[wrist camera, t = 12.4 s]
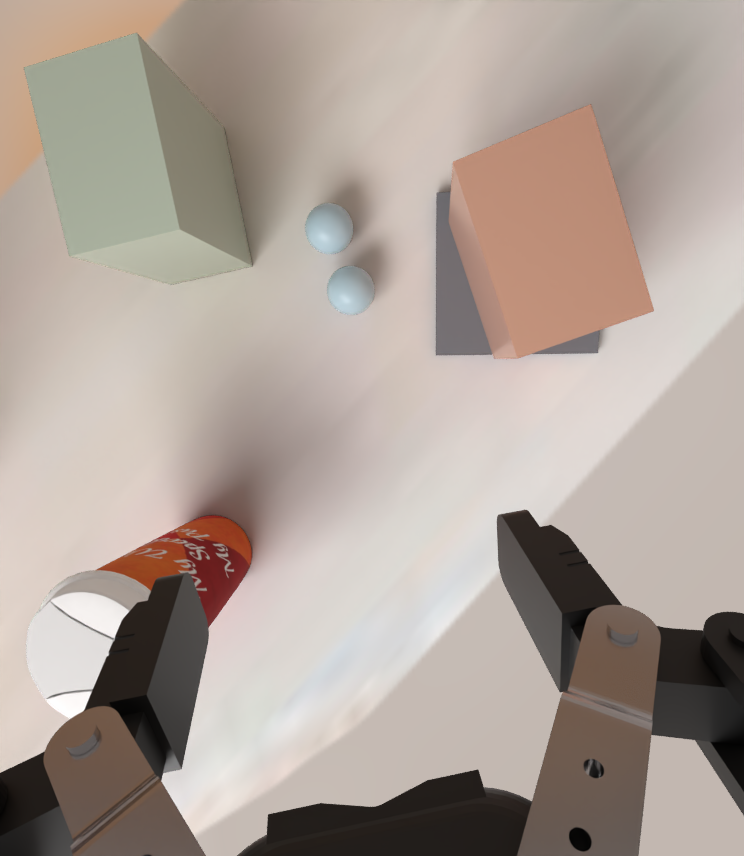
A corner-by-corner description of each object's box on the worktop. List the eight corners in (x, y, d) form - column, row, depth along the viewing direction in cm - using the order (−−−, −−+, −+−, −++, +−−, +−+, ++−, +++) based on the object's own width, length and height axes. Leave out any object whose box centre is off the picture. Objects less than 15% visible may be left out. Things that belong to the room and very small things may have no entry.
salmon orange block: (588, 325, 32) (654, 310, 22) (494, 359, 33) (517, 358, 23) (543, 184, 31) (591, 104, 22) (448, 222, 32) (452, 161, 23)
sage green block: (252, 266, 35) (179, 229, 25) (170, 284, 36) (69, 256, 26) (223, 127, 34) (136, 32, 24) (140, 150, 35) (23, 67, 25)
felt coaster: (436, 355, 34) (435, 355, 34) (436, 195, 33) (436, 192, 32) (595, 353, 33) (597, 353, 32) (602, 187, 32) (605, 183, 31)
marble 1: (312, 259, 34) (300, 249, 31) (311, 211, 34) (299, 197, 31) (357, 257, 34) (349, 247, 31) (356, 209, 34) (348, 195, 31)
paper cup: (272, 510, 37) (173, 599, 23) (260, 610, 38) (160, 751, 24) (168, 492, 38) (14, 567, 24) (160, 590, 39) (8, 716, 25)
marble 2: (332, 317, 35) (323, 313, 32) (331, 271, 34) (321, 262, 31) (377, 316, 34) (371, 312, 31) (377, 269, 34) (370, 260, 31)
